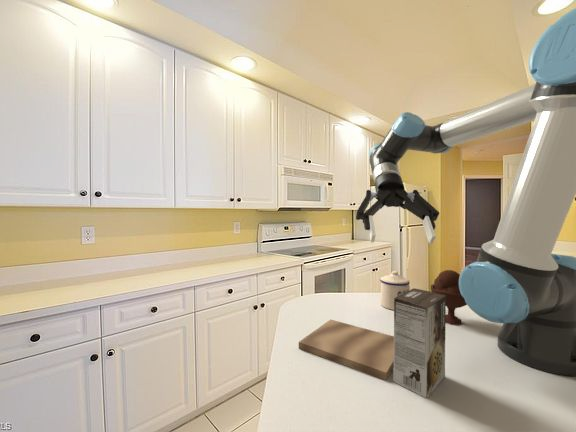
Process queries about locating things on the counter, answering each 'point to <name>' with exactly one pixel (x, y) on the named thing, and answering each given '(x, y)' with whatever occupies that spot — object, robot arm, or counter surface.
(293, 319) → the counter surface
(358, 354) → the walnut board
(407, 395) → the counter surface
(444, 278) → the ice cream bowl
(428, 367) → the coffee box
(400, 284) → the teacup with lid
